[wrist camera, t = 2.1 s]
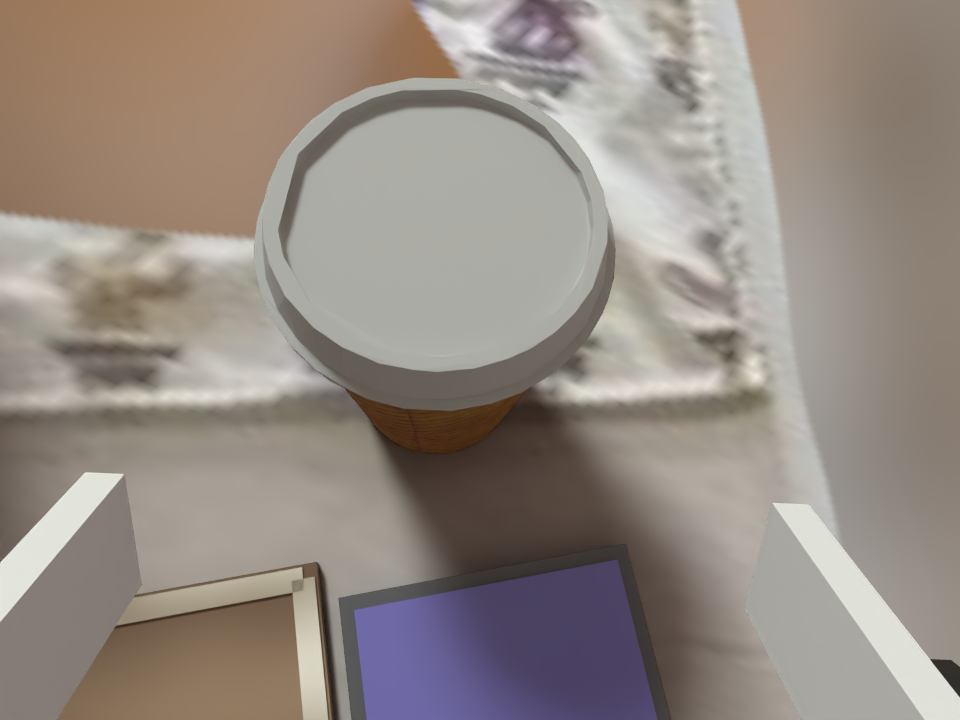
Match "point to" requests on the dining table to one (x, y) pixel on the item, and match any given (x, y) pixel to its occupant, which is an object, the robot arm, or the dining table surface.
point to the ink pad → (506, 645)
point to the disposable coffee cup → (434, 254)
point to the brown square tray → (215, 654)
